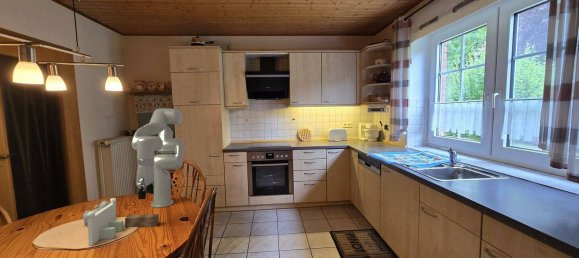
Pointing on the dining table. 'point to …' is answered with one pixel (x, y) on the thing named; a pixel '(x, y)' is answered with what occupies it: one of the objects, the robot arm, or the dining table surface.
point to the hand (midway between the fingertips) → (146, 196)
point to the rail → (142, 220)
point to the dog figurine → (101, 206)
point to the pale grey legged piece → (103, 223)
